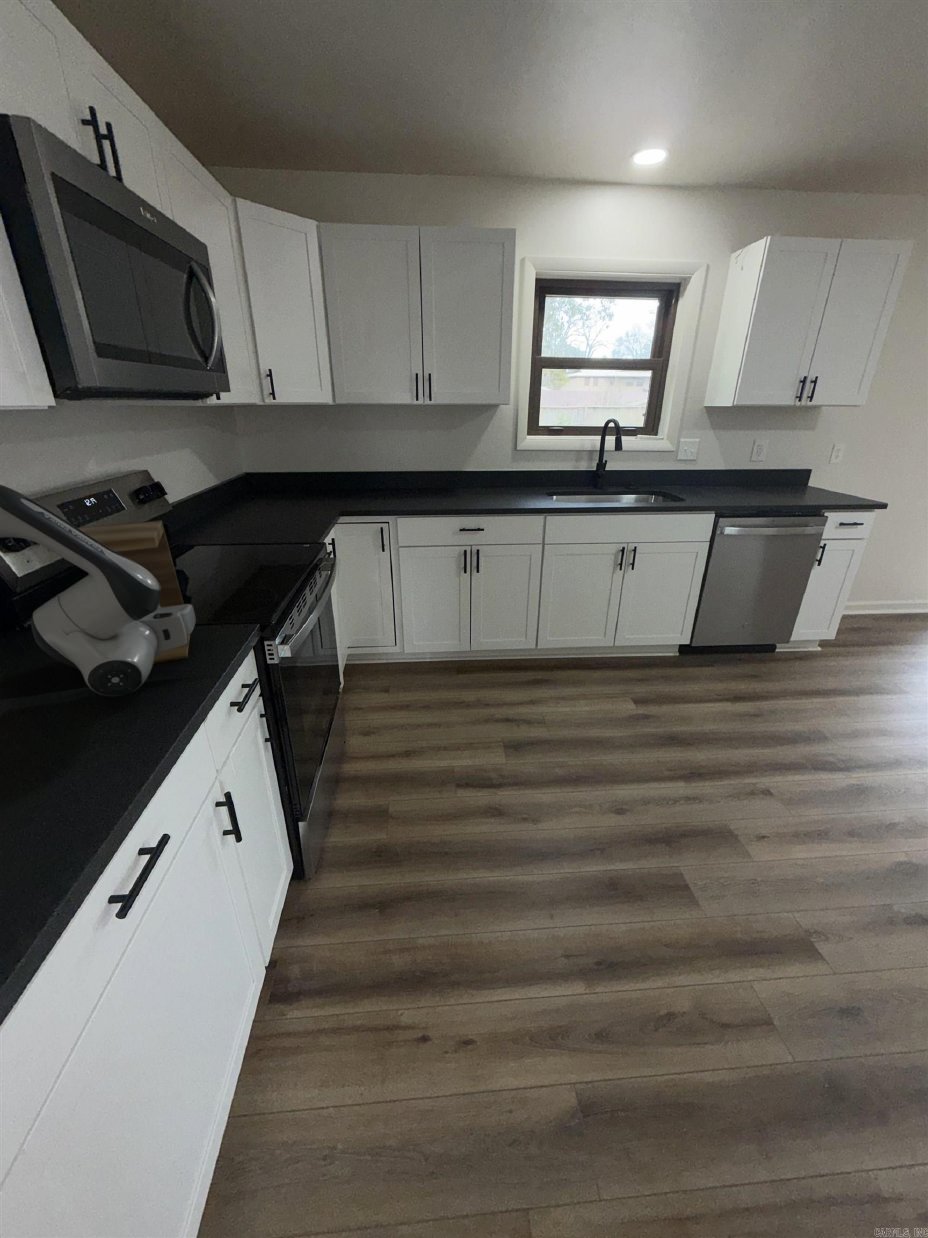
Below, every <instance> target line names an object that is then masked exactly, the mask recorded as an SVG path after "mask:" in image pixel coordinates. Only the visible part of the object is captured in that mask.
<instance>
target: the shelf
mask: <svg viewBox="0 0 928 1238" xmlns="http://www.w3.org/2000/svg"><path fill="white" fill-rule="evenodd" d="M79 529H80V530H81V531H83V532H84V533H86V534H88V535H89V536H91V537H92V538H94V539H95V540H97V541H99V542H100V543H102V544H103V545H105V546H106V547H108V548H110V549H111V550H113V551H115V552H117V553H119V554H121V555H123V556H125V557H127V558H129V559H131V560H132V561H134V562H136V563H138V564H139V565H141V566H142V567H144V568H145V569H147V570H148V571H149V572H150V573H151V574H152V575H153V576H154V577H155V578H156V579H157V581H158V582H159V584H160V586H161V597H160V602H159V604H160V607H162V608H163V607H170V606H177V605H184V604H185V603H184V599H183V596H182V595H183V594H182V592H181V588H180V585H179V580H178V577H177V573H176V569H175V565H174V561H173V558H172V554H171V550H170V546H169V542H168V538H167V534H166V531H165V527H164V523H163V520H160V519H159V520H152V521H151V520H149V521H139V522H138V521H137V522H127V523H126V522H125V523H114V524H104V525H93V526H81V527H80V528H79ZM190 640H191V634H189V635H188V636H187V644H185V645H183V646H180V647H177V648H174V649H171V650H168V651H165V652H163V653H161V654H159V655H157V656H155V657H154V663H153V665H155V664H161V663H167V662H173V661H178V660H183V659H188V655H189V650H190V649H189V647H190Z"/></svg>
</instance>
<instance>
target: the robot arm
mask: <svg viewBox="0 0 928 1238" xmlns="http://www.w3.org/2000/svg"><path fill="white" fill-rule="evenodd" d="M1 538H15V539H16V538H17V539H24V540H28V541H32V542H34V543H36V544H38V545H40V546H42V547H44V548H45V549H47V550H49V551H51V552H52V553H54V554H55V555H57V556H59V557H60V558H63V559H64V560H66V561H68V562H69V563H70V564H73V565H74V566H76V567H78V568H79V569H81V570H83V571H84V572H86V573H88V574H87V575H86V576H85V577H83V578H82V579H80V580H79V581H77V582H76V583H73V584H72V585H71V586H70V587H68V588H67V589H65V590H64V591H62V592H60V593H58V594H56V595H55V596H54V597H52V598H50V599H49V600H48V601H46V602H44V603H43V604H42V605H41V606H39V607H38V608H36V609H34V610H33V612H32V614H31V619H30V627H31V632H32V635H33V638H34V641H35V642H36V644H37V646H38V647H39V648H40V649H41V650H42V651H43V652H44V653H46V654H47V655H48V656H49V657H50V658H51V659H54V660H56V661H57V662H59V663H61V664H62V665H66V666H69V667H71V668H75V669H77V670H79V671H80V674H81V675H82V677H83V680H84V682H85V684H86V686H88V688H89V689H91V690H92V691H93V692H94V693H96V694H99V695H101V696H105V697H120V696H125V695H128V694H130V693H133V692H135V691H136V690H138V689H140V687H142V686H143V685H144V683H145V682H146V680H147V679H148V677H149V675H150V674H151V671H152V669H153V666H154V664H153V663H154V657H155V656H157V655H159V654H161V653H163V652H165V651H168V650H171V649H174V648H177V647H180V646H183V645H185V644H187V636H188V635H189V634H190V635H191V634H192V633H193V631H194V628H195V626H196V622H197V617H196V613H195V609H194V606H193V605H192V604H189V603H184V605H177V606H170V607H163V608H162V607H160V604H159V602H160V597H161V586H160V584H159V582H158V581H157V579H156V578H155V577H154V576H153V575H152V574H151V573H150V572H149V571H148V570H147V569H145V568H144V567H142V566H141V565H139V564H138V563H136V562H134V561H132V560H131V559H129V558H127V557H125V556H123V555H121V554H119V553H117V552H115V551H113V550H111V549H110V548H108V547H106V546H105V545H103V544H102V543H100V542H99V541H97V540H95V539H94V538H92V537H91V536H89V535H88V534H86V533H84V532H83V531H81V530H80V528H78V527H77V526H75V525H74V524H72V523H70V522H69V521H67V520H66V519H64V518H63V517H61V516H60V515H57V513H54V511H52V510H50V509H48V508H47V507H45V506H43V505H42V504H40V503H38V502H37V501H35V500H33V499H32V498H29V497H28V496H26V495H24V494H23V493H20V492H19V491H17V490H15V489H13V488H10V487H8V486H6V485H3V484H0V539H1Z"/></svg>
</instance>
